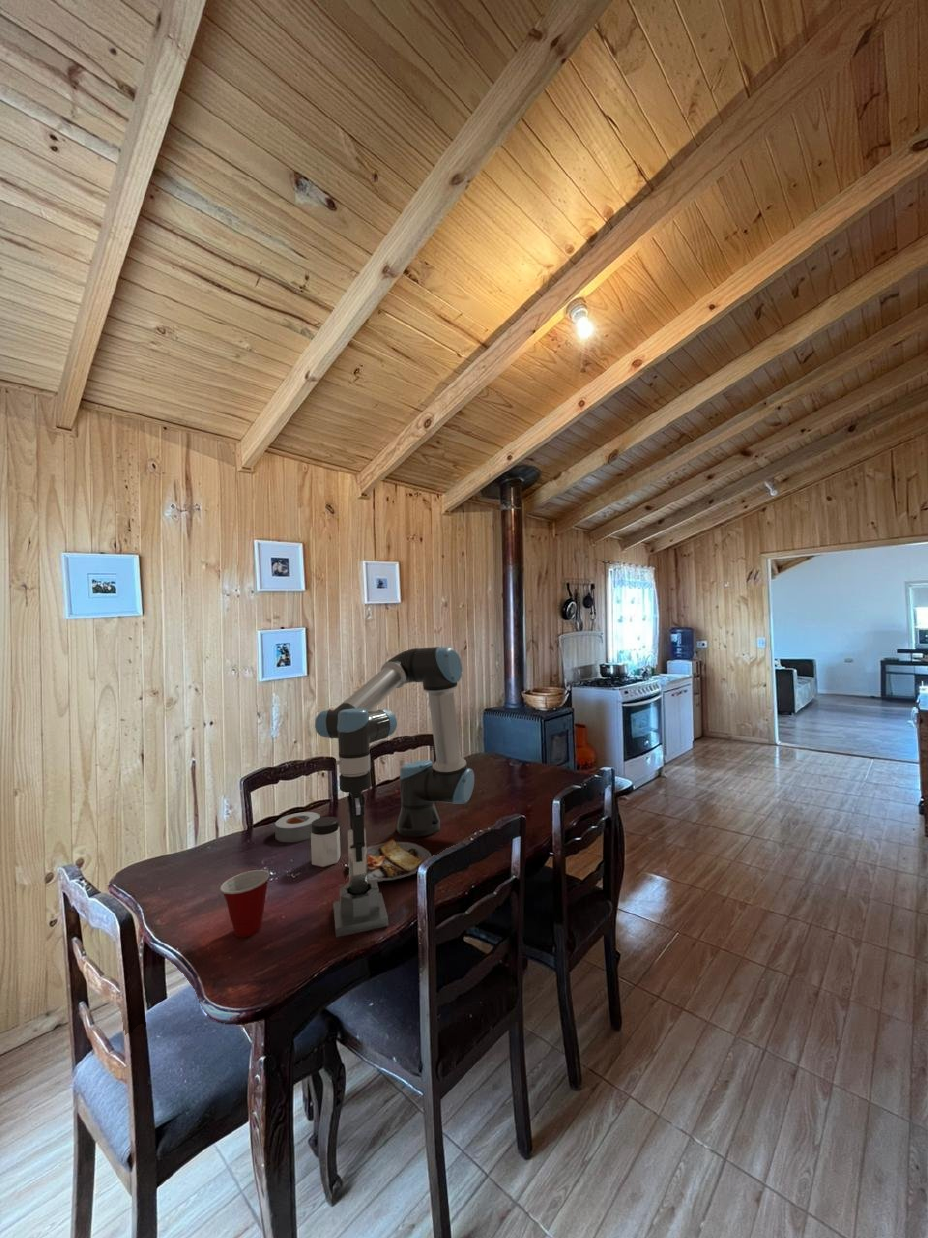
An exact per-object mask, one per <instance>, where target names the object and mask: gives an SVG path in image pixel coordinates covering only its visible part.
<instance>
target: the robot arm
mask: <svg viewBox="0 0 928 1238" xmlns="http://www.w3.org/2000/svg"><path fill="white" fill-rule="evenodd" d="M462 677H463V664H462V660H461V657H460V655H459V653H458V652H457V651H456V650H455V649H454V648H452V647H444V646H433V647H421V648H420V647H419V648H418V647H417V648H413V647H412V648H409V649H406V650H404V651H402V652H400V653H398V654H396V655H394V656H393V657H392V658H390V659H388V660H387V661H386V662H385V663H384V664H383V665H382V666H381V667H380V671H379V672H378V673H376V674H375V675H374V676H373V677H371V678H370V679H369V680H368V681H366V683H364V684H363V685H362V686H361V687H359V689H357V690H356V691H355V692H354V693H353V694H351V695H350V696H349V697H348V698H346V700H344V701H343V702H342V703H340V704H339V705H338V706H337V707H335V709H333V710H332V709H325V710H321V711H320V712H319V713H318V714H317V716H316V718H315V723H314V724H315V725H314V726H315V730H316V731H315V732H316V733H317V735H319V736H320V737H321V738H328V739H337V740H338V742H337V743H338V759H339V760H337V761H336V762H335V763H336V765H337V766H338V765H339V767H338V769H339V773H340V775H339V777H338V778H339V780H338V781H339V790H340V791H341V792H343V793H347V794H348V795H347V796H346V797H347V798H346V801H347V806H348V808H347V809H348V813H349V829H351V828H352V831H353V845H351V846H350V849H352V850H353V875H359V874H364V873H365V857H364V847H365V842H364V828H365V818H364V815H365V803H366V799H365V796H364V793H362V792H364V791H367V790H369V789H370V788H371V786H372V781H371V780H372V777H371V776H372V775H371V772H370V771H371V767H372V766H371V752H370V744H372V743H374V742H377V741H380V740H385V739H387V738H389V736H392V735H393V734H394V733H395V731H396V729H397V727H398V721H397V717H396V715H395V713H394V712H393V711H391V710H389V709H387V708H386V709H378V710H374V709H376V707H378V706H379V705H380V704H381V703H382V702H383V701H384V700H385V699H386V698H387V697H389V695H390V694H391V693H393V692H394V690H396V689H400V688H402V687H403V686H404V685H406V684H410V683H422V688H423V691H425V692H426V693H427V694H428V699H429V710H430V718H431V726H432V733H433V735H432V736H433V743H434V752H435V761H434V763H433V760H429V759H427V760H426V759H424V760H416V761H413V762H409V763H406V764H405V765H403V766H402V767H401V768H400V773H399V775H400V776H399V783H400V802H401V810H400V812H399V817H398V820H397V824H396V825H397V827H396V828H397V832H398V834H399V835H401V836H404V837H408V838H410V837H411V838H418V837H426V836H430V835H432V834H435V833H437V832H438V831H439V830H440V828H441V820H440V817H439V814H438V812H437V809H436V806H435V802H437V803H445V804H453V805H455V804H458V805H462V804H463V805H464V804H466V803H467V802H468V801H469V800H470V798H471V796H472V793H473V790H474V787H475V786H474V785H475V772H474V770H473V769H472V768H469V767H467V766H468V765H467V761H466V760H465V759H464V758H463V757H462V753H461V752H462V751H461V743H460V735H459V728H458V727H459V726H458V719H457V717H458V715H457V708H456V701H455V689H456V688H457V687H458V682H460V681H461V679H462Z"/></svg>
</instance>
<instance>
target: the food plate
mask: <svg viewBox="0 0 928 1238" xmlns="http://www.w3.org/2000/svg"><path fill="white" fill-rule="evenodd" d="M430 856H431V857H432V854H431V852H430V851H429V850H428V849H426V848H425V847H423V846H421V845H419V844H417V843H414V842H409V841H407V842H406V841H395V839H394V838H391V839H389V841H386V842H382V843H377V844H373V845H369V846H367V875H368V879H369V880H373V881H377V883H381V882H383V881H395V880H398V879H403V878H405V877H410V876H411V875H415V874H417V873H416V871H417V867H418V866H419V865H420V864H421V863H422V862H423V861H424V860H426V859H427V858H429V857H430ZM346 866H347V868H349V860H348V861H347V864H346ZM402 872H403V873H404V872H405V873H404V874H401V873H402ZM385 876H387V877H386V878H385Z"/></svg>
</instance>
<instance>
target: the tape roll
mask: <svg viewBox="0 0 928 1238" xmlns="http://www.w3.org/2000/svg"><path fill="white" fill-rule="evenodd" d="M319 818H321V817H320V814H319V813H317V812H312V811H304V812H297V813H291V814H287V815H285V816H282V817H280V818H279V819H278V820H276V822H275V823H274V833H275V834H274V835H275V836H274V837H275V839H276V840H277V841H278V842H282V843H296V842H300V841H301V842H302V841H305V840H306V841H307V840H308V839H311V833H312V822H313V821H314V820H316V819H319Z"/></svg>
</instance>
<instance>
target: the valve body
mask: <svg viewBox="0 0 928 1238" xmlns="http://www.w3.org/2000/svg"><path fill="white" fill-rule="evenodd" d="M345 879H346V880H345V883H346V884H344V885H342V886H341V887H340V888H339V900H338V901H333V903H332V904H333V918H334V919H333V920H334V929H335V938H340V937H344V936H349V935H353V934H359V933H363V932H367V931H372V930H377V929H381V928H385V927H389V916H388V913H387V911H388V910H387V908H386V905H385V901H384V898H383V894H382V892H380V889H379V885H378V882H377V881H373V880H369V879H368V889H367V890H366V891H364V892H362V893H351V892H350V889H349V873H348V875H347V876H346V878H345Z"/></svg>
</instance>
